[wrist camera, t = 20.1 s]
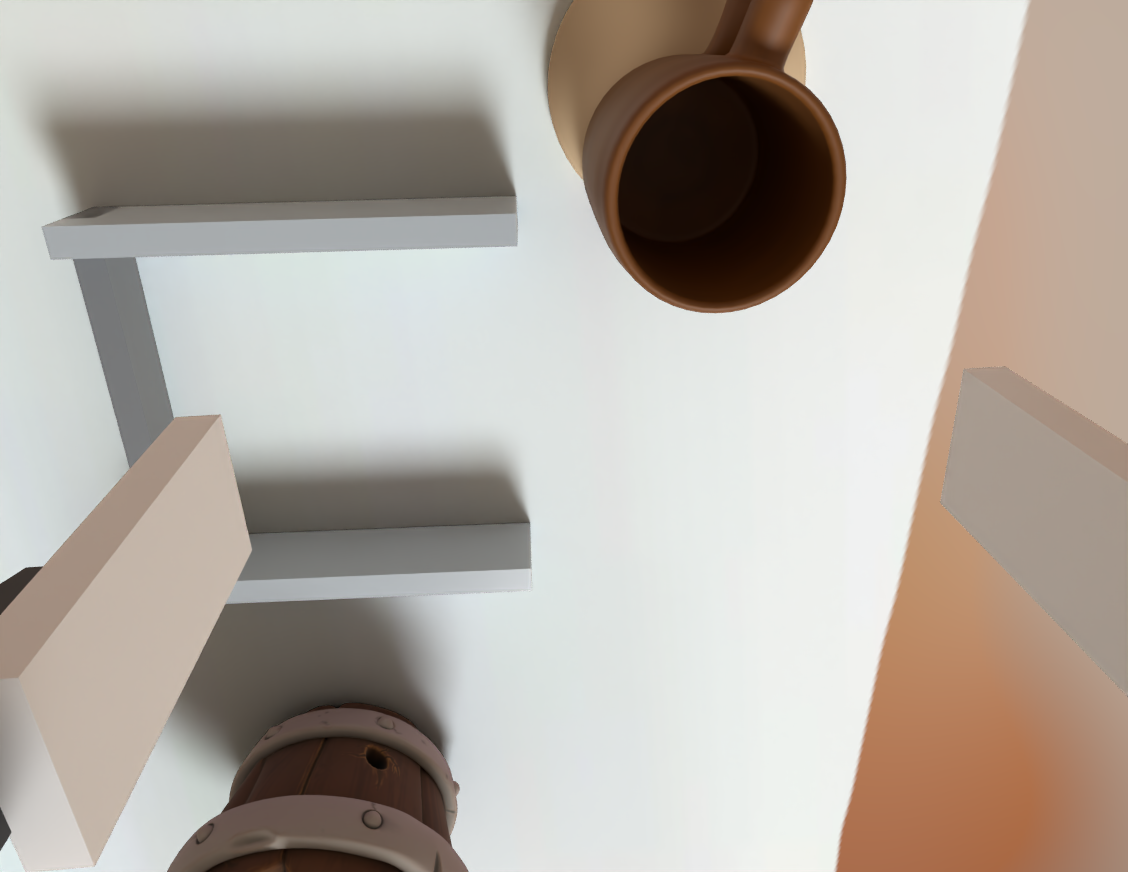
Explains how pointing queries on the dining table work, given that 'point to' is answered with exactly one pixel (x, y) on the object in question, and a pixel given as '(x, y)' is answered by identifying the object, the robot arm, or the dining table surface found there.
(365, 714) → the flowerpot
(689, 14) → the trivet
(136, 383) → the u-shaped frame
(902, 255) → the dining table surface
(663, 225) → the mug
